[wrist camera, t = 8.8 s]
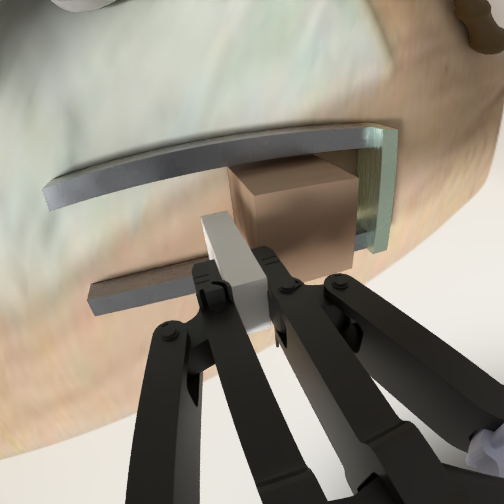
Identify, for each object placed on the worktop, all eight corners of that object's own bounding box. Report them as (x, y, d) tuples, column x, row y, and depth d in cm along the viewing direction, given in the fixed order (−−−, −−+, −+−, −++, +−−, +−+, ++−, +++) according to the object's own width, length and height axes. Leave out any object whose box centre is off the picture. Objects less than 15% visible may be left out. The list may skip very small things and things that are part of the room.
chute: (52, 179, 16) (36, 194, 14) (372, 122, 21) (398, 129, 18) (97, 299, 21) (93, 325, 19) (366, 233, 26) (386, 249, 24)
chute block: (227, 166, 19) (254, 195, 14) (310, 153, 20) (358, 178, 16) (237, 244, 22) (263, 293, 18) (311, 227, 24) (352, 267, 19)
